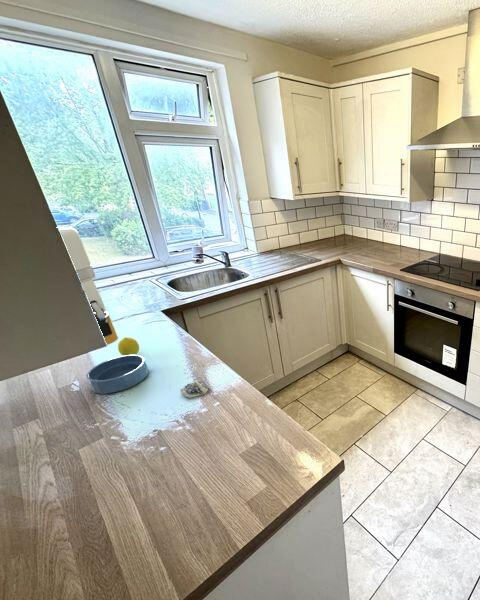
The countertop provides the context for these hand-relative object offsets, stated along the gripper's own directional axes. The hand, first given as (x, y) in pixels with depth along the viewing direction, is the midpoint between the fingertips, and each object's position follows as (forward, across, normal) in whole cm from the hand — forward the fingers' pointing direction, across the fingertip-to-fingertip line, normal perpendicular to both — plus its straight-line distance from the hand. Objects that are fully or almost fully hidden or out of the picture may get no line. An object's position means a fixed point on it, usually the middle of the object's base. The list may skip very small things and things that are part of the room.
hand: (99, 332), depth 95 cm
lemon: (+19, -14, +9) cm, 25 cm away
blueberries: (+19, +24, +10) cm, 32 cm away
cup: (+3, 0, 0) cm, 3 cm away
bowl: (+18, -2, +1) cm, 18 cm away
